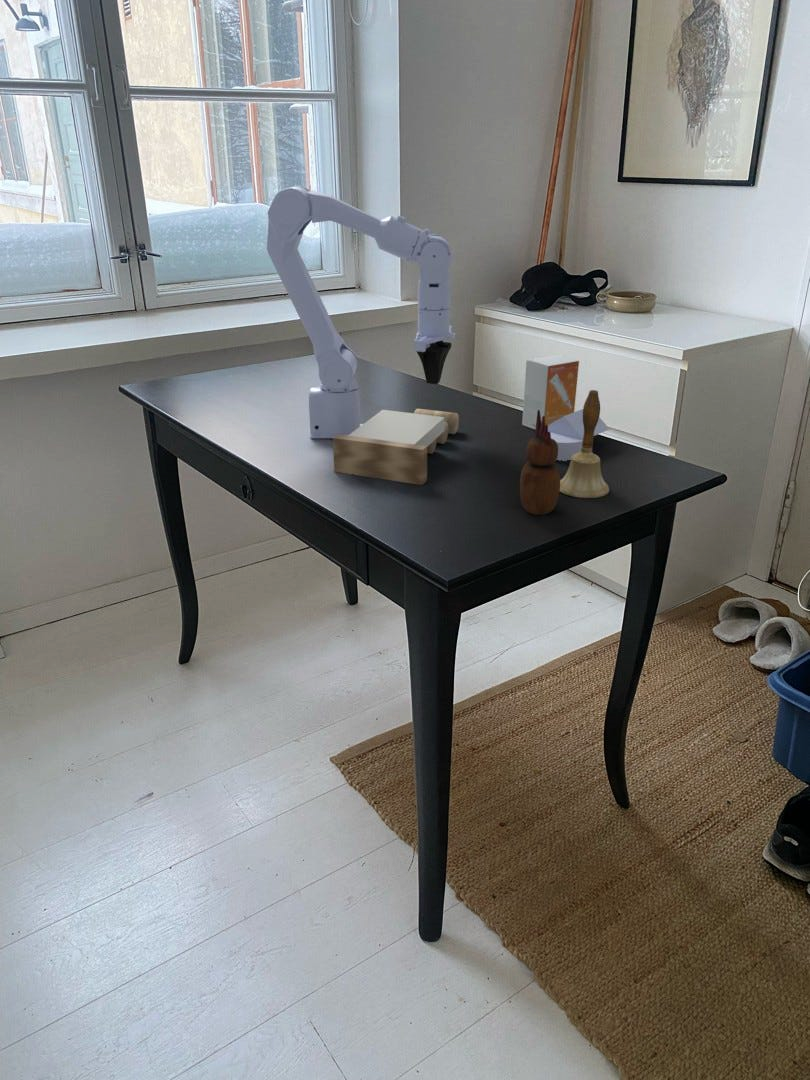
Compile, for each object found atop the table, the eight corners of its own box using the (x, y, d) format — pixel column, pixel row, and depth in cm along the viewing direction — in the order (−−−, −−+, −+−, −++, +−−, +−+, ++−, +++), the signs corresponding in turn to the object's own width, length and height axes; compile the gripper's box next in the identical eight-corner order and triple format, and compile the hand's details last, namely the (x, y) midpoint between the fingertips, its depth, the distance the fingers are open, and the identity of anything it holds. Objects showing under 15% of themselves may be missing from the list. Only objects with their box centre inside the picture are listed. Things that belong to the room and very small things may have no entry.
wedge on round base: (566, 436, 155) (525, 452, 146) (569, 401, 152) (527, 416, 143) (607, 446, 149) (567, 464, 141) (611, 411, 146) (571, 427, 138)
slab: (348, 449, 138) (347, 435, 137) (383, 422, 149) (382, 409, 148) (414, 459, 134) (414, 444, 132) (444, 430, 145) (444, 417, 144)
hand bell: (583, 476, 136) (592, 381, 129) (620, 491, 129) (631, 393, 123) (545, 486, 132) (552, 389, 125) (581, 502, 125) (591, 401, 119)
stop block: (334, 471, 138) (332, 437, 135) (339, 467, 140) (338, 434, 137) (422, 485, 132) (422, 449, 130) (426, 480, 134) (427, 446, 131)
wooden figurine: (516, 501, 126) (522, 406, 120) (554, 501, 126) (561, 407, 119) (520, 519, 120) (527, 420, 113) (560, 519, 120) (568, 420, 113)
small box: (543, 433, 156) (548, 365, 150) (521, 425, 161) (525, 359, 155) (574, 426, 160) (580, 360, 154) (551, 418, 165) (556, 353, 159)
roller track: (366, 466, 140) (366, 444, 138) (420, 425, 161) (420, 406, 159) (409, 472, 137) (409, 450, 136) (458, 430, 158) (459, 410, 156)
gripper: (440, 316, 139) (439, 394, 144) (468, 302, 151) (466, 375, 156) (402, 313, 141) (402, 390, 147) (432, 300, 153) (431, 372, 159)
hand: (433, 382), depth 152 cm, fingers closed
